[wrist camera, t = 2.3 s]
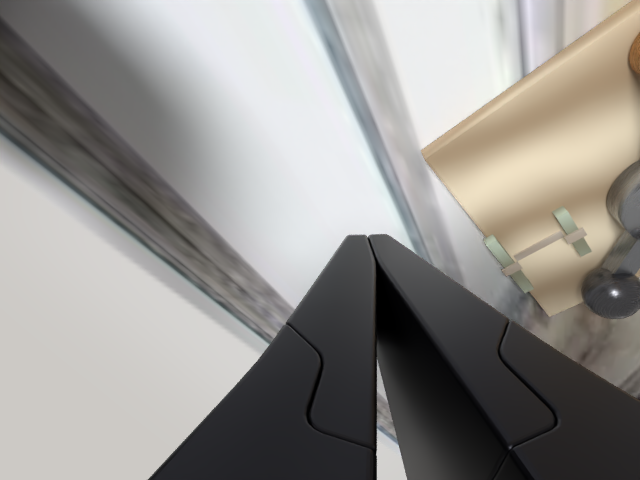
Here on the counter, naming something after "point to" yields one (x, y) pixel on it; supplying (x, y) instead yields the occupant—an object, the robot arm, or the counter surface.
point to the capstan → (620, 243)
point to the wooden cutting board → (551, 162)
